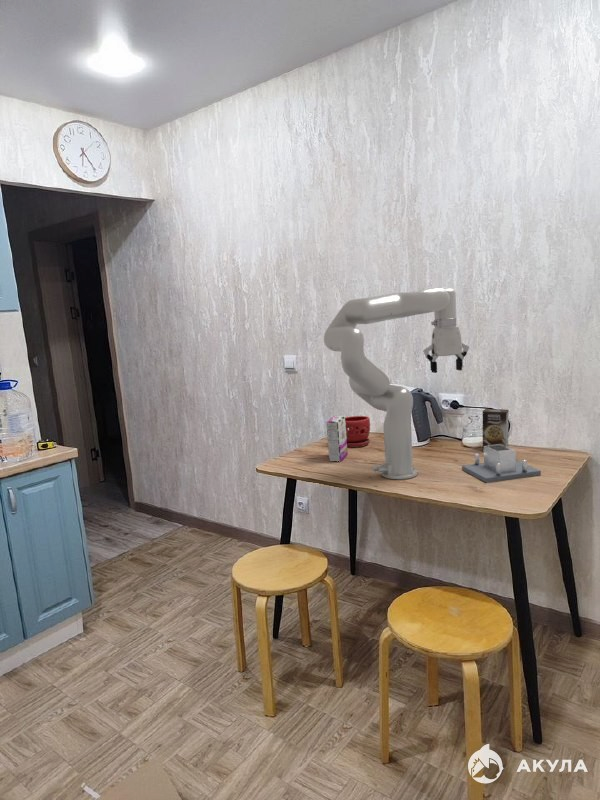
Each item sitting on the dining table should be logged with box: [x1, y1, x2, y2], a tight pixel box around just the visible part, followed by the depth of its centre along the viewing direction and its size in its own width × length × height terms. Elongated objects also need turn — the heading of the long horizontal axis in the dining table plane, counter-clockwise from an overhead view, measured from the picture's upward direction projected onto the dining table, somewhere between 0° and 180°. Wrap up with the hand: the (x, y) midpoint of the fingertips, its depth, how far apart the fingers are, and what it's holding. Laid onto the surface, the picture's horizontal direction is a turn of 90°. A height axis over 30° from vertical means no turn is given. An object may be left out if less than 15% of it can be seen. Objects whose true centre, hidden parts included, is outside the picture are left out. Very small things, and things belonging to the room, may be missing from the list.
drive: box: [483, 444, 517, 473], centre depth 187 cm, size 6×10×7 cm, turn 11°
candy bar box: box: [326, 415, 349, 463], centre depth 219 cm, size 11×5×16 cm, turn 160°
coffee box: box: [482, 408, 510, 452], centre depth 214 cm, size 9×6×16 cm
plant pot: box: [345, 415, 371, 448], centre depth 239 cm, size 13×13×12 cm
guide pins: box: [474, 452, 528, 476], centre depth 187 cm, size 11×15×4 cm
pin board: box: [461, 459, 542, 484], centre depth 188 cm, size 20×16×2 cm
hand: (446, 371), depth 198 cm, fingers open, 9 cm apart
